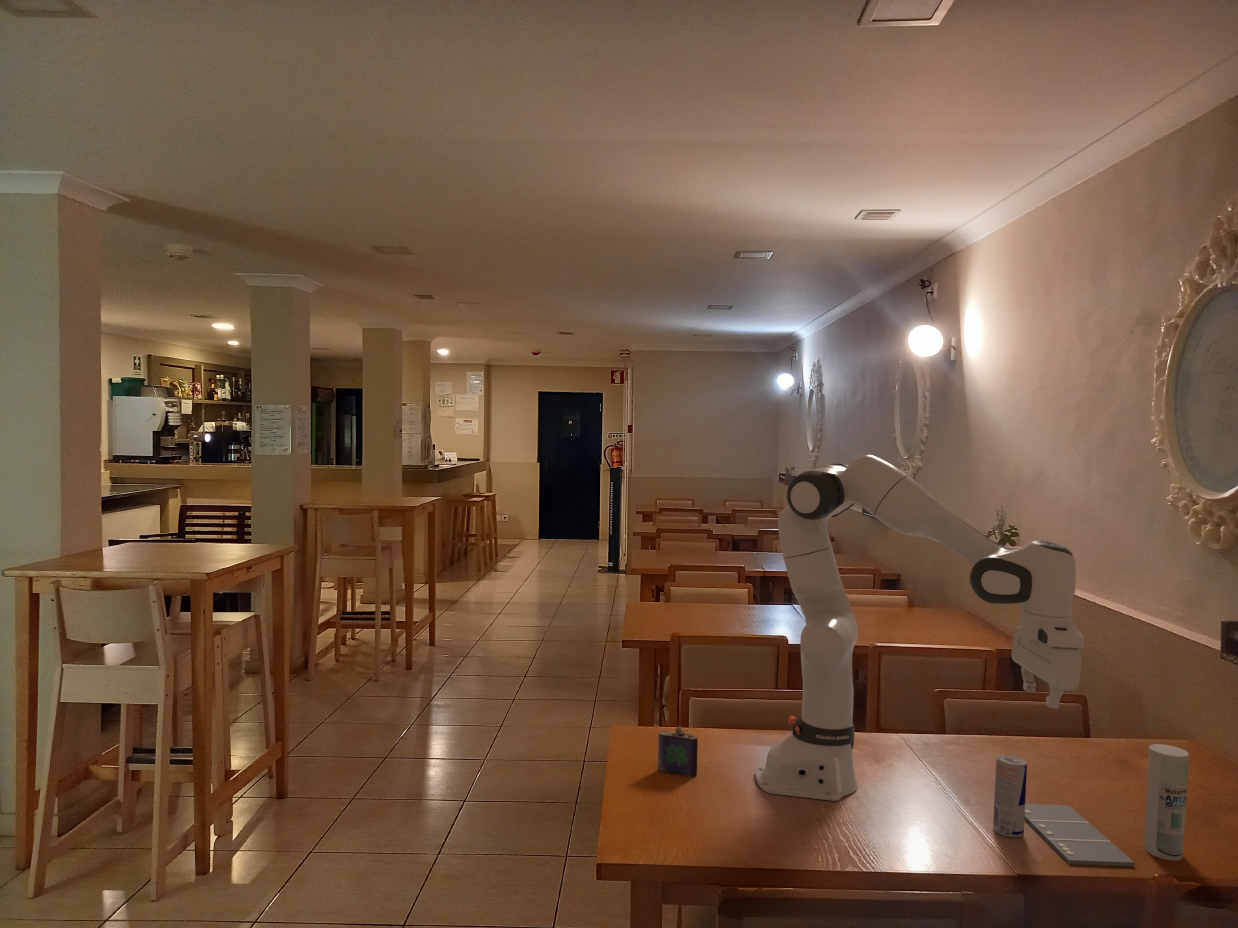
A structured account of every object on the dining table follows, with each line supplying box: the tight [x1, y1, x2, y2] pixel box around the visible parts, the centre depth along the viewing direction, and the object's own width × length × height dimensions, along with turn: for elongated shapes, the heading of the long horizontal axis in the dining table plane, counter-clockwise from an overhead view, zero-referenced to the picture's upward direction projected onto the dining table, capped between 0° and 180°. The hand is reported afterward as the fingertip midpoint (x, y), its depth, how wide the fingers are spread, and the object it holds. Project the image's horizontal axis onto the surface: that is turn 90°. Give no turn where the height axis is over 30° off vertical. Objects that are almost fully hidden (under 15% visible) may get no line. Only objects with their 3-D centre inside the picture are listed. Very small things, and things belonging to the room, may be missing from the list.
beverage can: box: [992, 753, 1028, 839], centre depth 170 cm, size 6×6×15 cm
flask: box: [657, 725, 699, 778], centre depth 196 cm, size 9×3×11 cm, turn 71°
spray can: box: [1144, 743, 1190, 861], centre depth 164 cm, size 6×6×20 cm
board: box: [1024, 803, 1135, 868], centre depth 170 cm, size 12×24×1 cm, turn 179°
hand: (1040, 698), depth 163 cm, fingers open, 8 cm apart
